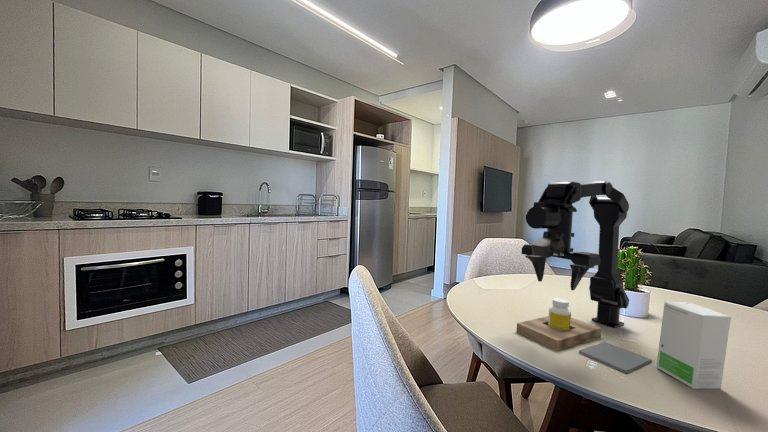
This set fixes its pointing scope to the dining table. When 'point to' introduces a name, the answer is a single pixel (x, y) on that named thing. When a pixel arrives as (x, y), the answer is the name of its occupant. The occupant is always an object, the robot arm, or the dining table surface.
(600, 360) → the rubber mat
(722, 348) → the skincare box
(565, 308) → the supplement bottle
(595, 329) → the wooden block with hole
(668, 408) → the dining table surface
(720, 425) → the dining table surface
